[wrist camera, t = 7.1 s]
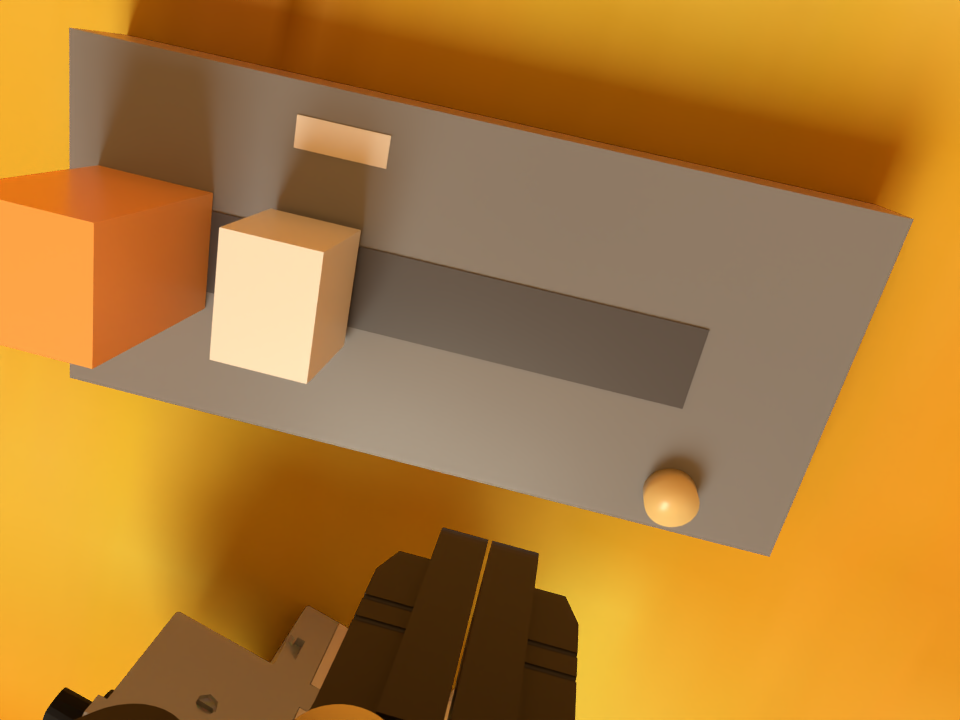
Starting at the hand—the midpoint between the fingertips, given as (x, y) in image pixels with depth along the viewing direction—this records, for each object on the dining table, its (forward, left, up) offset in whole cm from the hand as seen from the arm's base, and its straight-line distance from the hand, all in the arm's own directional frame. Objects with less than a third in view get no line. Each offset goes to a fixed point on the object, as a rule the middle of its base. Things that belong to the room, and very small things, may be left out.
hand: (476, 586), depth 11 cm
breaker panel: (+3, 0, -17) cm, 17 cm away
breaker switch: (+8, 0, -13) cm, 15 cm away
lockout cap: (+13, 0, -14) cm, 19 cm away
